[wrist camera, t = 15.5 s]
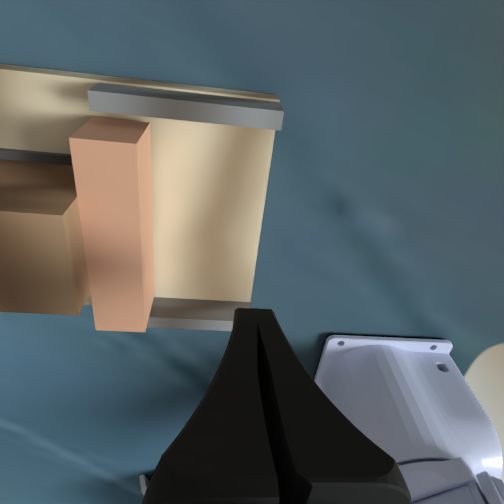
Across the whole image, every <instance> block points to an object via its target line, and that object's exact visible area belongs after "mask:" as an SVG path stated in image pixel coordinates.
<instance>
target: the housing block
mask: <svg viewBox="0 0 504 504" xmlns="http://www.w3.org/2000/svg"><path fill="white" fill-rule="evenodd" d="M89 293H90V285H89V278H88V271H87V264H86V257H85V249H84V242H83V235H82V228H81V221H80V214H79V207H78V200H77V193H76V185H75V178H74V171H73V166H72V165H61V164H49V163H38V162H26V161H15V160H3V159H0V312H19V313H40V314H61V315H79V314H80V312H81V310H82V308H83V306H84V304H85V302H86V300H87V297H88V295H89Z"/></svg>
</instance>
